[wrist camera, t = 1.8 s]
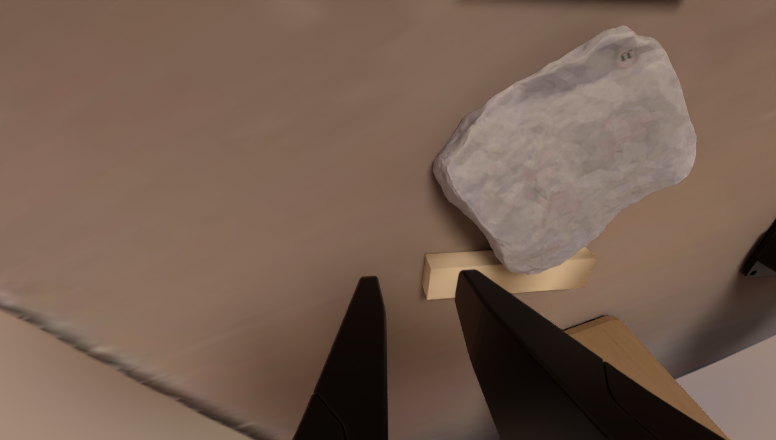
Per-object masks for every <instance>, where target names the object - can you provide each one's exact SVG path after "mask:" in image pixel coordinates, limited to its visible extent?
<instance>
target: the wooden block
mask: <svg viewBox="0 0 776 440" xmlns="http://www.w3.org/2000/svg"><path fill="white" fill-rule="evenodd" d="M564 332H566V333H567V334H568V335H570V336H571V337H573V338H574V339H575V340H577V341H578V342H580V343H581V344H582V345H584V346H585V347H587V348H588V349H589V350H591V351H592V352H594V353H595V354H596V355H598V356H599V357H601V358H602V359H603V362H604V361H606V362H608V363H609V364H611V365H612V366H614V367H615V368H616V369H618V370H619V371H621V372H622V373H623V374H625V375H626V376H628V377H629V378H631V379H632V380H634V381H635V382H637V383H638V384H640V385H641V386H642V387H644V388H645V389H647V390H648V391H650V392H651V393H653V394H654V395H656V396H657V397H659V398H661V399H662V400H664V401H665V402H667V403H668V404H670V405H672V406H673V407H675V408H676V409H678V410H679V411H681V412H682V413H684V414H686V415H687V416H689V417H690V418H692V419H694V420H695V421H697V422H699V423H700V424H702V425H703V426H705V427H707V428H708V429H710V430H711V431H713V432H715V433H716V434H718V435H719V436H721V437H723V438H724V439H726V440H730V439H729V438H728V437H727V436H726V435H725V434H724V433H723V432H722V431H721V430H720V429H719V427H718V426H717V425H716V424H715V423H714V422H713V421H712V420H711V419H710V418H709V416H708V415H707V414H706V413H705V412H704V411H703V410H702V409H701V408H700V407H699V406H698V404H697V403H696V402H695V401H694V400H693V399H692V398H691V397H690V396H689V395H688V394H687V393H686V392H685V390H684V389H683V388H682V387H681V386H680V385H679V384H678V383H677V382H676V381H675V379H674V378H673V377H672V376H671V375H670V374H669V373H668V372H667V371H666V370H665V369H664V367H663V366H662V365H661V364H660V363H659V362H658V361H657V360H656V359H655V358H654V357H653V355H652V354H651V353H650V352H649V351H648V350H647V349H646V348H645V347H644V346H643V345H642V343H641V342H640V341H639V340H638V339H637V338H636V337H635V336H634V335H633V334H632V333H631V332H630V330H629V329H628V328H627V327H626V326H625V325H624V324H623V323H622V322H621V321H620V320H619V319H618V318H616V317H614V316H604V317H601V318H598V319H595V320H593V321H590V322H587V323H584V324H582V325H579V326H576V327H573V328H571V329H568V330H565V331H564Z"/></svg>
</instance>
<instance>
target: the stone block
mask: <svg viewBox="0 0 776 440" xmlns="http://www.w3.org/2000/svg"><path fill="white" fill-rule="evenodd" d="M696 140H697V135H696V134H695V133H694V126H693V125H692V123H691V122H690V118H689V114H688V111H687V107H686V104H685V101H684V97H683V92H682V89H681V85H680V82H679V80H678V78H677V75H676V73H675V71H674V69H673V67H672V65H671V63H670V61H669V58H668V56H667V53H666V52H665V51H664V49H663V48H662V47H661V45H660V44H659V43H658V42H657V41H656V40H655V39H653V38H651V37H646V36H637V35H636V34H635V32H633V31H632V30H631V29H629V28H628V26H620V27H618V28H612V29H608V30H605V31H603V32H600V33H599V34H598V35H597V36H595V37H593V38H592V39H590V40H589V41H587V42H586V43H584V44H582V45H580V46H578V47H577V48H576V49H574V50H573V51H571V52H569V53H568V54H566V55H564V56H563V57H562V58H560V59H559V60H557V61H554V62H551V63H549V64H548V65H546V66H545V67H544V68H542V69H540V70H539V71H537V72H536V73H534V74H533V75H531V76H529V77H526V78H524V79H522V80H519V81H517V82H516V83H514V84H513V85H511V86H510V87H508V88H507V89H505V90H504V91H502V92H500V93H498V94H497V95H495V96H493V97H492V98H490V99H489V101H488V102H487V103H485V104H484V105H483V106H482V107H481V108H480V109H477V110H475V111H473V112H471V113H469V114H468V115H467V116H465V117H464V118H463V120H462V121H461V123H460V125H459V126H458V128H457V129H456V131H455V133H454V134H453V135H452V136H451V138H450V139H449V140H448V142H447V144H446V145H445V147H444V148H443V149H442V151H441V153H440V154H439V155H438V156H437V157H436V159H435V161H434V163H433V164H434V166H433V170H432V171H433V173H434V175H435V178H436V179H437V181H438V182H439V184H440V185H441V187H442V190H443V193H444V195H445V196H446V197H447V199H448V201H449V202H450V203H452V204H454V205H455V206H456V207H458V208H459V209H460V210H461V211H462V212H463V214H464V215H466V216H468V218H469V219H471V220H472V221H473V222H474V223H475V224H476V225H477V226H478V227H479V229H480V231H481V232H482V233H483V234H484V235H485V237H486V238H487V240H488V242H489V245H490V246H491V248H492V249H493V251H494V254H495V256H496V257H497V258H498V259H499V260H500V261H501V263H502V264H503V266H504V267H505V268H506V269H507V270H508V271H510V272H512V273H526V274H527V275H534V274H539V273H541V272H543V271H546V270H548V269H549V268H553V267H556V266H560V265H561V264H562V263H564V262H565V261H566V260H568V259H569V258H571V257H573V256H574V255H575V254H576V253H577V252H578V251H580V250H581V249H582V248H584V247H586V246H587V245H588V244H589V243H590V242H592V241H593V240H594V239H596V238H597V237H598V236H599V234H600V233H601V232H602V231H603V230H604V228H605V227H606V225H607V224H608V223H609V222H610V221H611V220H612V219H613V218H614V217H615V216H616V215H617V214H618V213H620V212H621V211H622V210H623V209H625V208H626V207H628V206H630V205H632V204H635V203H637V202H638V201H640V200H641V199H642V198H643V197H645V196H646V195H647V194H649V193H652V192H655V191H658V190H661V189H664V188H667V187H670V186H673V185H675V184H677V183H679V182H681V181H682V180H683V179H684V178H685V177H686V176H688V174H689V172H690V170H691V169H692V167H693V164H694V161H695V157H696Z"/></svg>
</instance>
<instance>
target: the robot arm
mask: <svg viewBox="0 0 776 440" xmlns="http://www.w3.org/2000/svg"><path fill="white" fill-rule="evenodd" d="M742 274H743V275H745V276H746V277H748V278H754V277H767V276H776V225H775V226H774V227H773V229H772V230H771V232H770V233H769V234H768V236H767V237H766V239H765V240H764V241H763V243H762V244H761V246H760V247H759V248H758V250H757V251H756V253H755V254H754V255H753V257H752V258H751V259H750V261H749V262H748V264H747V265H746V266H745V268H744V269H743V271H742ZM455 304H456V308H457V312H458V315H459V319H460V323H461V327H462V331H463V335H464V338H465V342H466V346H467V350H468V353H469V357H470V360H471V363H472V366H473V369H474V371H475V374H476V376H477V379H478V382H479V384H480V387H481V389H482V392H483V395H484V397H485V400H486V402H487V405H488V408H489V410H490V413H491V415H492V418H493V421H494V423H495V426H496V428H497V431H498V434H499V436H500V439H501V440H726V439H724V438H723V437H721V436H719V435H718V434H716V433H715V432H713V431H711V430H710V429H708V428H707V427H705V426H703V425H702V424H700V423H699V422H697V421H695V420H694V419H692V418H690V417H689V416H687V415H686V414H684V413H682V412H681V411H679V410H678V409H676V408H675V407H673V406H672V405H670V404H668V403H667V402H665V401H664V400H662V399H661V398H659V397H657V396H656V395H654V394H653V393H651V392H650V391H648V390H647V389H645V388H644V387H642V386H641V385H640V384H638V383H637V382H635V381H634V380H632V379H631V378H629V377H628V376H626V375H625V374H623V373H622V372H621V371H619V370H618V369H616V368H615V367H614V366H612V365H611V364H609V363H608V362H606V361H604V362H603V359H602V358H601V357H599V356H598V355H596V354H595V353H594V352H592V351H591V350H589V349H588V348H587V347H585V346H584V345H582V344H581V343H580V342H578V341H577V340H575V339H574V338H573V337H571V336H570V335H568V334H567V333H566V332H564V331H563V330H561V329H560V328H558V327H557V326H556V325H554V324H553V323H551V322H550V321H549V320H547V319H546V318H544V317H543V316H542V315H540V314H539V313H537V312H536V311H535V310H533V309H532V308H530V307H529V306H528V305H526V304H525V303H523V302H522V301H520V300H519V299H518V298H516V297H515V296H513V295H512V294H511V293H509V292H508V291H506V290H505V289H504V288H502V287H501V286H499V285H498V284H497V283H495V282H494V281H492V280H491V279H489V278H488V277H487V276H485V275H484V274H482V273H481V272H480V271H478V270H476V269H469V270H461V271H460V272H459V275H458V280H457V286H456V291H455ZM292 440H388V399H387V330H386V311H385V306H384V301H383V297H382V293H381V289H380V285H379V280H378V278H377V277H376V276H367V277H361V278H360V280H359V282H358V285H357V287H356V289H355V292H354V294H353V297H352V299H351V302H350V304H349V306H348V309H347V311H346V314H345V316H344V319H343V321H342V323H341V326H340V328H339V331H338V333H337V336H336V338H335V341H334V343H333V345H332V348H331V350H330V353H329V355H328V358H327V360H326V362H325V365H324V367H323V370H322V372H321V375H320V377H319V379H318V382H317V384H316V387H315V389H314V394H313V395H312V396H311V398H310V401H309V403H308V406H307V408H306V410H305V413H304V415H303V417H302V419H301V422H300V424H299V426H298V428H297V431H296V433H295V435H294V437H293V439H292Z"/></svg>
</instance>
